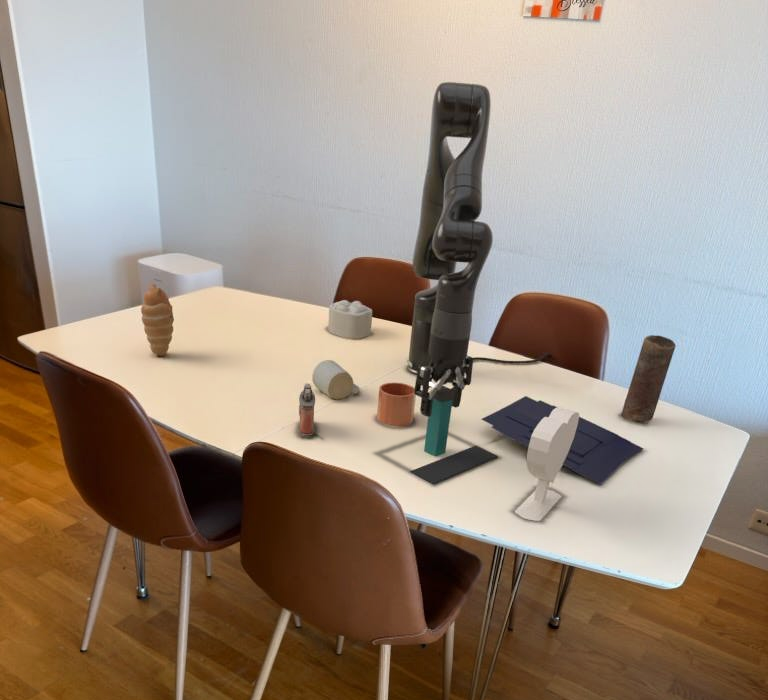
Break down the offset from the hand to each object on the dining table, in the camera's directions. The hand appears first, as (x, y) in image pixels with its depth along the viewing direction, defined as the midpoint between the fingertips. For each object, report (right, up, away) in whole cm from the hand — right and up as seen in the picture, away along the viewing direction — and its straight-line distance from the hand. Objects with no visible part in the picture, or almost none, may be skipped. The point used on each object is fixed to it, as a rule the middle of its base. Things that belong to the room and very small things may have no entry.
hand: (440, 410), depth 144 cm
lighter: (-28, -3, +10) cm, 30 cm away
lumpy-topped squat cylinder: (-22, +34, +72) cm, 82 cm away
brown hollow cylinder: (+51, +2, +31) cm, 59 cm away
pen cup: (-9, 0, +18) cm, 20 cm away
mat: (0, -9, +4) cm, 10 cm away
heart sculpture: (+18, -19, -9) cm, 28 cm away
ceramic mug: (-23, +8, +29) cm, 38 cm away
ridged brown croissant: (-70, +20, +42) cm, 84 cm away
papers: (+28, -6, +14) cm, 32 cm away
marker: (-1, -8, +5) cm, 9 cm away
